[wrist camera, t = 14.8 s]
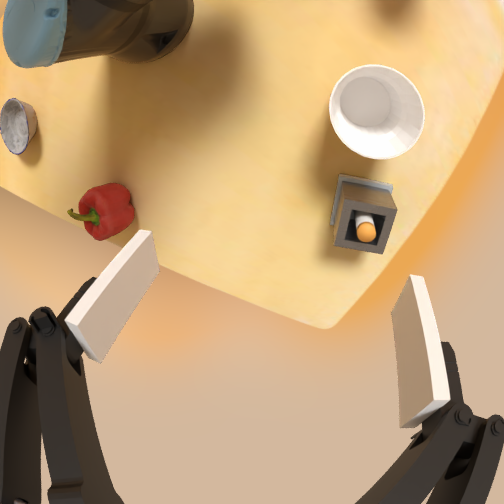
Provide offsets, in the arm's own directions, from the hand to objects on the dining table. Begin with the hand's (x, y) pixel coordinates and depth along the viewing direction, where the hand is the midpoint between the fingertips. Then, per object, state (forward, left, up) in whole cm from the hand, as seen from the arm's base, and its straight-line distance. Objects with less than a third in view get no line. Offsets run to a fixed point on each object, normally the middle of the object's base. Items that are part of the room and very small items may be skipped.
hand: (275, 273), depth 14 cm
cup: (+7, +6, -29) cm, 30 cm away
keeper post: (+9, -9, -29) cm, 31 cm away
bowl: (-58, +4, -29) cm, 65 cm away
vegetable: (-33, -14, -29) cm, 46 cm away
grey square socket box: (+9, -9, -28) cm, 31 cm away
